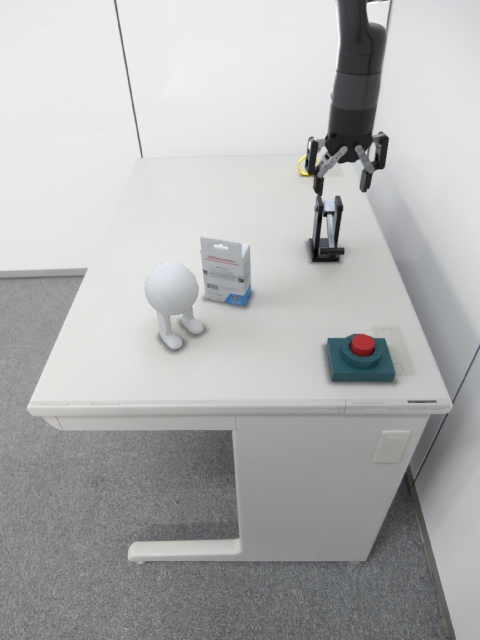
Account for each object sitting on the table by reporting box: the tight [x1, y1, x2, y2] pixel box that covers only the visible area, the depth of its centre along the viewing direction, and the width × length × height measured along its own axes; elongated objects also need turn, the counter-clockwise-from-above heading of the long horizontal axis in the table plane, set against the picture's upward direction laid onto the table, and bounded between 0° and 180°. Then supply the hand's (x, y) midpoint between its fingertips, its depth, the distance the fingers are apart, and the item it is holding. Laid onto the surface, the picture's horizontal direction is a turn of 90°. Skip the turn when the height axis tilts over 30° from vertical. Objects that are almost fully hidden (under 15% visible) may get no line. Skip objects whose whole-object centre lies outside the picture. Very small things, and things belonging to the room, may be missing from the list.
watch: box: [297, 153, 320, 177], centre depth 128 cm, size 6×3×6 cm, turn 81°
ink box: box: [199, 235, 252, 307], centre depth 85 cm, size 8×5×15 cm, turn 71°
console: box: [325, 333, 396, 383], centre depth 74 cm, size 10×8×4 cm
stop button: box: [351, 333, 374, 357], centre depth 73 cm, size 4×4×2 cm
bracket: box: [307, 195, 344, 263], centre depth 96 cm, size 8×6×13 cm
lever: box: [319, 199, 346, 256], centre depth 92 cm, size 12×5×2 cm, turn 179°
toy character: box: [144, 261, 205, 351], centre depth 77 cm, size 9×9×15 cm
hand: (340, 192), depth 83 cm, fingers open, 8 cm apart
